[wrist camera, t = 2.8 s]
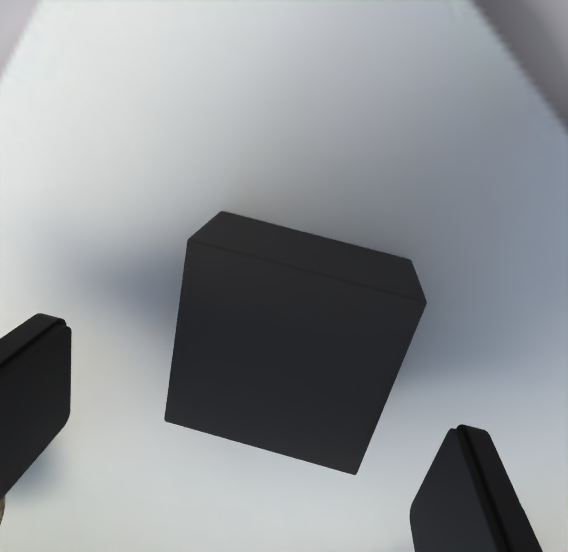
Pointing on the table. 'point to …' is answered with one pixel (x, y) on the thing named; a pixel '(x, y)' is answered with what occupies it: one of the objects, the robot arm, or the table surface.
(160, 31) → the table surface
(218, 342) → the black pad
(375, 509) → the table surface
